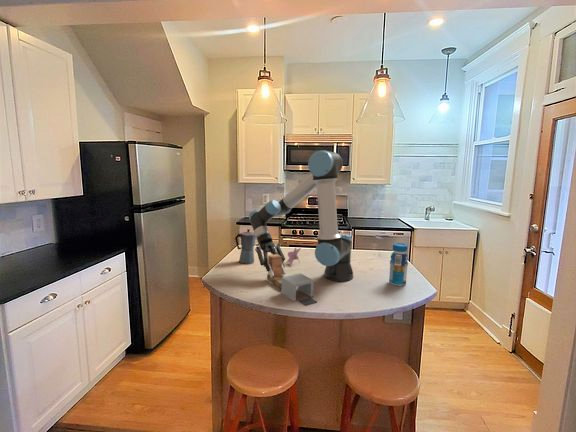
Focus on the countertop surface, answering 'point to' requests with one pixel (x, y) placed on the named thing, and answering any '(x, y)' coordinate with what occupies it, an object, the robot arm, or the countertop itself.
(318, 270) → the countertop surface
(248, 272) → the countertop surface
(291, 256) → the lily
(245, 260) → the moka pot
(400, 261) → the beverage bottle
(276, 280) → the wooden pillar on base
